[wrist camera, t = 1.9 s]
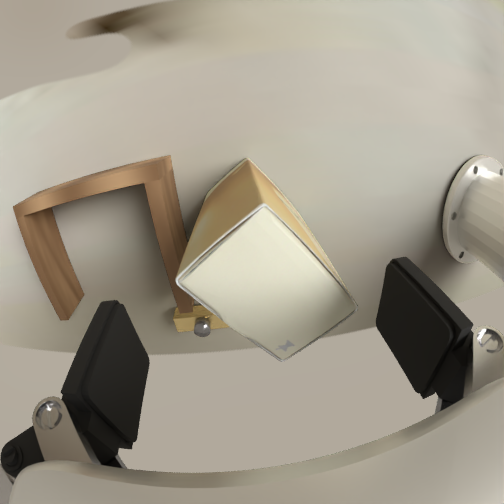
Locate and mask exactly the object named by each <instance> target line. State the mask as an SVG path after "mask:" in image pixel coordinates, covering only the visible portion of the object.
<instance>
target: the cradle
mask: <svg viewBox="0 0 504 504" xmlns="http://www.w3.org/2000/svg"><path fill="white" fill-rule="evenodd" d="M141 183H144V184H145V189H146V193H147V198H148V202H149V207H150V211H151V215H152V219H153V223H154V227H155V231H156V235H157V239H158V243H159V246H160V250H161V254H162V257H163V261H164V264H165V268H166V271H167V275H168V278H169V281H170V284H171V288H172V291H173V294H174V297H175V300H176V303H177V307H178V310H179V313H180V314H182V313H192V312H193V306H194V300H195V299H194V298H193V297H192V296H190V295H189V294H188V293H187V292H185V291H184V290H183V289H182V288H180V287H179V286H178V285H177V284H176V281H175V278H176V275H177V273H178V270H179V267H180V264H181V261H182V258H183V256H184V253H185V250H186V247H187V245H188V243H187V238H186V234H185V229H184V224H183V220H182V215H181V210H180V205H179V200H178V195H177V190H176V184H175V179H174V174H173V168H172V162H171V156H170V155H169V156H164V157H159V158H154V159H150V160H145V161H141V162H137V163H132V164H128V165H124V166H120V167H116V168H113V169H109V170H105V171H102V172H98V173H95V174H91V175H88V176H84V177H81V178H78V179H75V180H72V181H69V182H66V183H63V184H60V185H57V186H54V187H51V188H48V189H45V190H43V191H40V192H38V193H36V194H34V195H32V196H31V197H29V198H27V199H25V200H24V201H22V202H20V203H18V204H17V205H15V206H13V209H14V212H15V216H16V219H17V222H18V225H19V228H20V231H21V234H22V237H23V240H24V242H25V245H26V248H27V250H28V253H29V255H30V258H31V260H32V263H33V265H34V267H35V270H36V272H37V274H38V276H39V279H40V281H41V283H42V285H43V287H44V289H45V291H46V293H47V295H48V297H49V299H50V301H51V303H52V305H53V307H54V309H55V311H56V313H57V315H58V316H59V318H60V320H69V318H70V316H71V315H72V313H73V312H74V310H75V308H76V307H77V305H78V304H79V302H80V301H81V299H82V297H83V296H84V293H83V291H82V289H81V286H80V284H79V282H78V280H77V277H76V275H75V273H74V270H73V268H72V265H71V263H70V260H69V258H68V255H67V252H66V250H65V247H64V244H63V242H62V239H61V236H60V233H59V230H58V227H57V224H56V221H55V217H54V214H53V211H52V206H56V205H59V204H62V203H66V202H69V201H72V200H76V199H80V198H83V197H87V196H91V195H94V194H98V193H102V192H106V191H110V190H115V189H119V188H123V187H127V186H132V185H136V184H141Z"/></svg>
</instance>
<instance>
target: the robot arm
mask: <svg viewBox="0 0 504 504" xmlns="http://www.w3.org/2000/svg"><path fill="white" fill-rule="evenodd" d="M442 228H443V238H444V242H445V246H446V248H447V250H448V252H449V253H450V254H451V256H452V257H454V258H455V259H456V260H457V261H459V262H461V263H467V264H469V263H473V262H476V261H478V260H479V261H480V262H481V263H483V264H484V265H485V266H486V267H487V268H489V269H490V270H491V271H492V272H493V273H494V274H496V275H497V276H498V277H499V278H500V279H501V280H502V281H504V168H503V166H502V165H501V163H500V162H499V161H497V160H496V159H495V158H492V157H489V156H485V155H479V156H475V157H473V158H472V159H470V160H469V161H468V162H467V163H465V164H464V165H463V167H462V168H461V169H460V171H459V172H458V173H457V175H456V177H455V179H454V181H453V183H452V185H451V188H450V190H449V192H448V196H447V199H446V203H445V208H444V214H443V226H442ZM376 326H377V329H378V330H379V332H380V333H381V335H382V337H383V338H384V340H385V341H386V343H387V345H388V346H389V348H390V349H391V351H392V352H393V354H394V356H395V358H396V359H397V361H398V363H399V364H400V366H401V368H402V369H403V371H404V373H405V374H406V376H407V378H408V379H409V381H410V383H411V384H412V386H413V388H414V390H415V391H416V392H417V393H420V394H421V396H422V398H423V399H424V398H427V397H429V396H431V395H433V394H434V393H435V392H436V393H437V395H438V401H437V406H436V411H435V414H434V415H432V416H430V417H428V418H426V419H424V420H422V421H420V422H418V423H416V424H414V425H412V426H409V427H407V428H405V429H403V430H400V431H398V432H396V433H393V434H391V435H388V436H386V437H383V438H381V439H378V440H375V441H372V442H369V443H367V444H364V445H361V446H358V447H355V448H351V449H348V450H345V451H342V452H338V453H335V454H331V455H327V456H323V457H320V458H315V459H311V460H306V461H302V462H297V463H292V464H287V465H281V466H275V467H268V468H261V469H252V470H243V471H231V472H213V473H173V472H156V471H143V470H133V469H127V467H126V466H125V464H124V463H123V462H122V460H121V459H120V457H119V455H118V449H119V448H124V449H132V445H133V442H135V441H136V440H137V435H138V428H139V421H140V414H141V407H142V402H143V396H144V390H145V385H146V379H147V374H148V369H149V357H148V354H147V353H146V351H145V349H144V347H143V345H142V343H141V341H140V339H139V337H138V335H137V333H136V331H135V328H134V326H133V324H132V322H131V320H130V318H129V316H128V313H127V311H126V309H125V307H124V305H123V304H120V303H119V302H118V301H117V300H113V301H103V302H101V303H100V305H99V307H98V309H97V311H96V313H95V315H94V317H93V319H92V321H91V323H90V325H89V327H88V329H87V331H86V333H85V336H84V338H83V340H82V342H81V344H80V347H79V349H78V351H77V353H76V356H75V358H74V360H73V363H72V365H71V367H70V370H69V372H68V375H67V378H66V380H65V382H64V385H63V388H62V390H61V393H62V394H63V396H62V399H60V398H58V397H48V398H45V399H43V400H42V401H40V402H39V403H38V405H37V406H36V407H35V409H34V412H33V417H32V420H33V426H32V427H30V428H29V429H27V430H26V431H24V432H23V433H21V434H20V435H18V436H17V437H15V438H14V439H12V440H10V441H9V442H8V443H7V444H6V445H5V446H4V447H3V449H2V452H1V464H0V504H504V336H503V335H502V334H501V332H500V331H498V330H497V329H495V328H494V327H491V326H480V327H478V328H477V329H476V330H475V332H474V333H473V332H472V331H471V329H472V326H473V323H472V322H471V321H470V320H469V319H468V318H467V317H466V316H465V314H464V313H463V312H462V311H461V310H460V309H459V308H458V307H457V306H456V305H455V304H454V303H453V302H452V301H451V300H450V298H449V297H448V296H447V295H446V294H445V293H444V292H443V291H442V290H441V289H440V288H439V287H438V286H437V285H436V284H435V283H434V282H433V281H432V280H431V279H429V278H428V277H427V276H426V275H425V274H424V273H423V272H422V271H421V270H420V269H419V268H418V267H417V266H416V265H415V264H414V263H413V262H411V261H410V260H409V259H408V258H407V257H401V258H396V259H392V260H391V261H390V264H388V265H387V267H386V272H385V278H384V284H383V289H382V294H381V299H380V304H379V309H378V313H377V318H376Z"/></svg>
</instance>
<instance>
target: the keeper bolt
mask: <svg viewBox="0 0 504 504" xmlns="http://www.w3.org/2000/svg"><path fill="white" fill-rule="evenodd" d="M173 320H174V323H175V325H176V328H177V331H178V332H185V331H194V333H195V334H196V335H198V336H200V337H205V336H208V335H209V334H210V329H218V328H227V327H229V326H228V325H227V324H226V323H225V322H224V321H222V320H221V319H220V318H218V317H217V316H216V315H215V314H213V313H212V312H211V311H209V310H208V309H207V308H206V307H204V306H203V305H197V306H193V312H192V313H182V314H180V313H179V310H178V307H177V308H176V309H175V313H174V317H173Z"/></svg>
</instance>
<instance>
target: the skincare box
mask: <svg viewBox="0 0 504 504" xmlns="http://www.w3.org/2000/svg"><path fill="white" fill-rule="evenodd" d="M175 281H176V284H177V285H178V286H179V287H180V288H182V289H183V290H184V291H185V292H187V293H188V294H189V295H190V296H192V297H193V298H194V299H195V300H197V301H198V302H199V303H200V304H202V305H203V306H204V307H206V308H207V309H208V310H209V311H211V312H212V313H213V314H215V315H216V316H217V317H218V318H220V319H221V320H222V321H224V322H225V323H226V324H227V325H228V326H229V327H231V328H232V329H233V330H235V331H236V332H238V333H239V334H241V335H243V336H244V337H246V338H247V339H249V340H250V341H252V342H253V343H254V344H256V345H257V346H259V347H260V348H262V349H263V350H265V351H266V352H268V353H269V354H270V355H272V356H273V357H275V358H276V359H277V360H279V361H281V362H282V361H285V360H287V359H288V358H290V357H292V356H293V355H295V354H296V353H298V352H300V351H301V350H303V349H304V348H306V347H307V346H309V345H311V344H312V343H313V342H315V341H316V340H318V339H319V338H321V337H322V336H324V335H325V334H327V333H328V332H330V331H331V330H332V329H334V328H335V327H337V326H338V325H339V324H341V323H342V322H343V321H345V320H346V319H347V318H348V317H349V316H351V315H352V314H353V313H355V312H356V311H357V310H358V305H357V304H356V302H355V300H354V299H353V297H352V296H351V294H350V293H349V291H348V289H347V288H346V286H345V284H344V283H343V281H342V280H341V278H340V276H339V275H338V273H337V272H336V270H335V268H334V267H333V265H332V264H331V262H330V260H329V259H328V257H327V256H326V254H325V252H324V251H323V249H322V248H321V246H320V245H319V243H318V242H317V240H316V238H315V237H314V235H313V234H312V232H311V231H310V229H309V228H308V226H307V225H306V223H305V222H304V220H303V219H302V217H301V215H300V214H299V213H298V211H297V210H296V209H295V208H294V206H293V205H292V204H291V203H290V201H289V200H288V199H287V198H286V197H285V195H284V194H283V193H282V192H281V191H280V190H279V189H278V188H277V186H276V185H275V184H274V183H273V182H272V181H271V180H270V179H269V178H268V177H267V176H266V175H265V174H264V173H263V172H262V171H261V170H260V169H259V168H258V167H257V166H256V165H255V164H254V163H253V162H252V161H251V160H250V159H249V158H245V159H244V160H243V161H242V162H241V163H239V164H238V165H237V166H236V167H235V168H233V169H232V170H231V171H230V172H229V173H228V174H227V175H226V176H224V177H223V178H222V179H221V180H220V181H219V182H218V183H217V184H216V185H215V186H214V187H213V188H212V189H211V190H210V191H209V192H208V193H207V195H206V198H205V200H204V203H203V205H202V208H201V210H200V213H199V215H198V218H197V220H196V223H195V226H194V229H193V232H192V234H191V237H190V239H189V242H188V245H187V247H186V250H185V253H184V256H183V258H182V261H181V264H180V267H179V270H178V273H177V275H176V278H175Z"/></svg>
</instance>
